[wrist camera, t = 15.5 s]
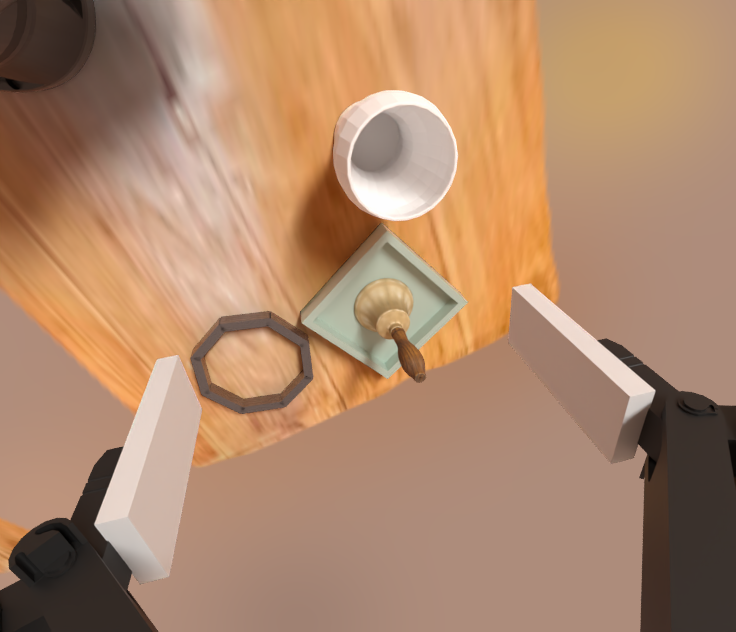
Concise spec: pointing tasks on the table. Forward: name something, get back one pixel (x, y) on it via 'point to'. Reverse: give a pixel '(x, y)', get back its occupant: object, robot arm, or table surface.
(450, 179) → the cup
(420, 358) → the hand bell
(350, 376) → the table surface
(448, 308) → the green square tray
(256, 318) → the collar
